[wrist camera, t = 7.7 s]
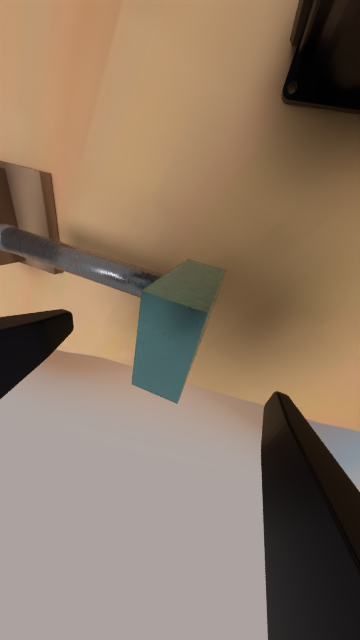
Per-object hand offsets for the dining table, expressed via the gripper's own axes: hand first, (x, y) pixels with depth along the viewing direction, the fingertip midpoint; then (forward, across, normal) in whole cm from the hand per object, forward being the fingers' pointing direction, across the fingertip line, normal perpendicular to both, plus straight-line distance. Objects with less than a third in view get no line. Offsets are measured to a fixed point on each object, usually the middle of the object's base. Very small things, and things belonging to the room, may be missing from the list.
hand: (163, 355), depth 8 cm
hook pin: (+7, +8, 0) cm, 11 cm away
